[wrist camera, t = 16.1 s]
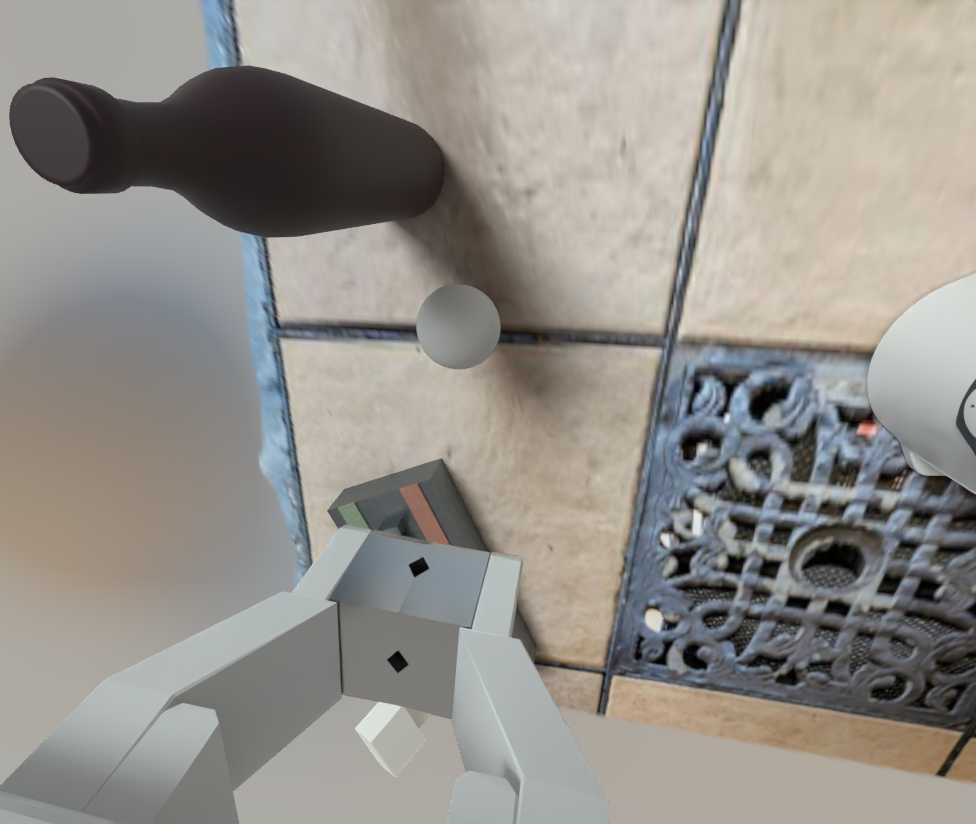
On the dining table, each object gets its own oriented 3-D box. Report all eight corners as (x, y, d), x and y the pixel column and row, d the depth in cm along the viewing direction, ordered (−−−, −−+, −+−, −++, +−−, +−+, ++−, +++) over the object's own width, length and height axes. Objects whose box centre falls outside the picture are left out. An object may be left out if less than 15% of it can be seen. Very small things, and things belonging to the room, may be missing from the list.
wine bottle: (403, 99, 39) (-11, -107, 12) (463, 175, 40) (218, 148, 13) (344, 166, 42) (-102, 125, 15) (403, 236, 43) (96, 316, 16)
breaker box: (441, 458, 51) (426, 486, 46) (536, 645, 59) (532, 686, 54) (344, 489, 55) (320, 518, 50) (445, 661, 63) (434, 701, 58)
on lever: (463, 634, 53) (370, 742, 45) (482, 668, 55) (396, 778, 47) (445, 626, 55) (354, 728, 48) (464, 659, 57) (379, 763, 49)
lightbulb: (519, 276, 43) (500, 302, 33) (507, 345, 45) (485, 389, 35) (449, 262, 43) (409, 284, 33) (440, 331, 46) (401, 371, 36)
